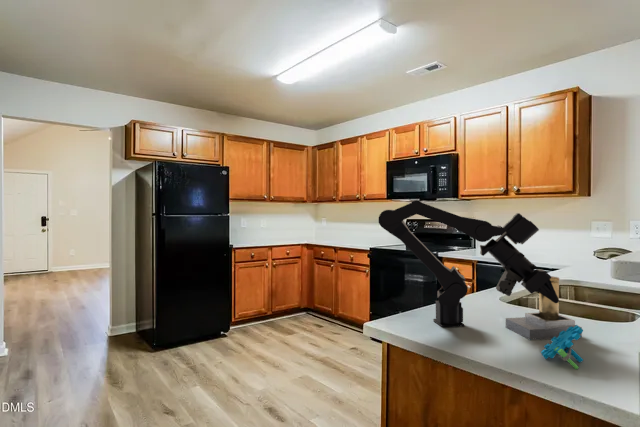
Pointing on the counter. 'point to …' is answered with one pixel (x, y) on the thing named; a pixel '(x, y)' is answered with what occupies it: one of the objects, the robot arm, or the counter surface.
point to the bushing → (549, 303)
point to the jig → (539, 326)
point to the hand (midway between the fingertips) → (554, 300)
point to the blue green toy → (564, 345)
